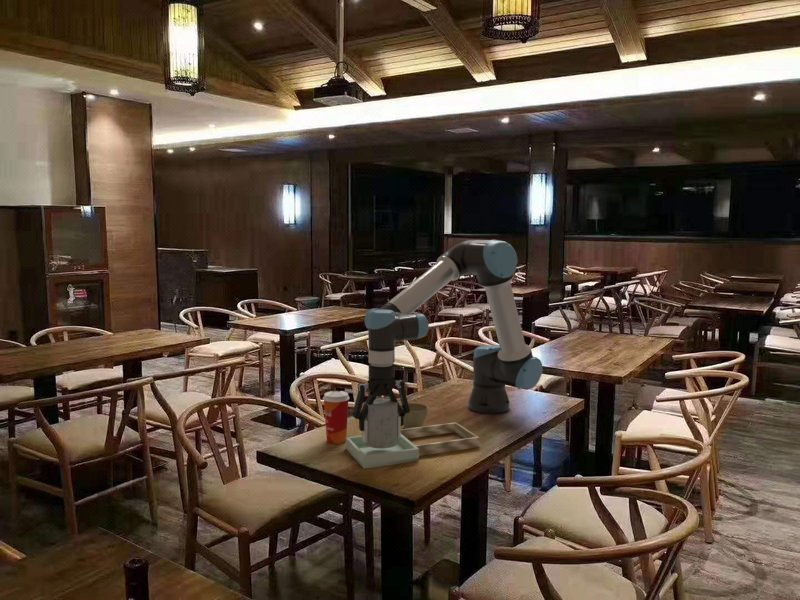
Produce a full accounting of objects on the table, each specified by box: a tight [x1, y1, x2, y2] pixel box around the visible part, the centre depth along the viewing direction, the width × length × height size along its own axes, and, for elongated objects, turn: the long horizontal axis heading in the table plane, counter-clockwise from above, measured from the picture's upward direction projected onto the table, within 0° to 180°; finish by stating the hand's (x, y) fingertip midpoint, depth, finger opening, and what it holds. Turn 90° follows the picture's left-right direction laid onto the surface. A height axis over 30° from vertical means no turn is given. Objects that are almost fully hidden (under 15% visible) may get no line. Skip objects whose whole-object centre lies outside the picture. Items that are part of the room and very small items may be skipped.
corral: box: [401, 422, 480, 457], centre depth 194 cm, size 22×16×3 cm
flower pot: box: [399, 402, 429, 429], centre depth 208 cm, size 10×10×7 cm
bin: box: [345, 434, 420, 470], centre depth 184 cm, size 17×17×4 cm
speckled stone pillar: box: [364, 396, 399, 448], centre depth 183 cm, size 10×10×12 cm
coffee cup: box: [322, 390, 350, 445], centre depth 195 cm, size 8×8×15 cm
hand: (381, 438), depth 184 cm, fingers closed on speckled stone pillar, 9 cm apart
